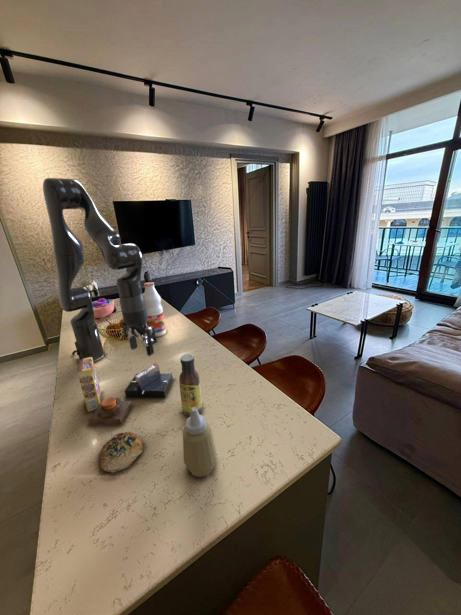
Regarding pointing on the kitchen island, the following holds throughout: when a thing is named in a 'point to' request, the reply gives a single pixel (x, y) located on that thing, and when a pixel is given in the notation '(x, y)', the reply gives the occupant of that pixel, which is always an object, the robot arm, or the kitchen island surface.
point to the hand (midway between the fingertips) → (142, 351)
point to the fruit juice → (154, 309)
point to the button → (109, 403)
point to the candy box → (89, 383)
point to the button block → (111, 413)
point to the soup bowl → (103, 307)
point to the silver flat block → (147, 376)
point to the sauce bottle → (189, 385)
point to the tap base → (150, 388)
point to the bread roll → (120, 452)
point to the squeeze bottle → (198, 445)
